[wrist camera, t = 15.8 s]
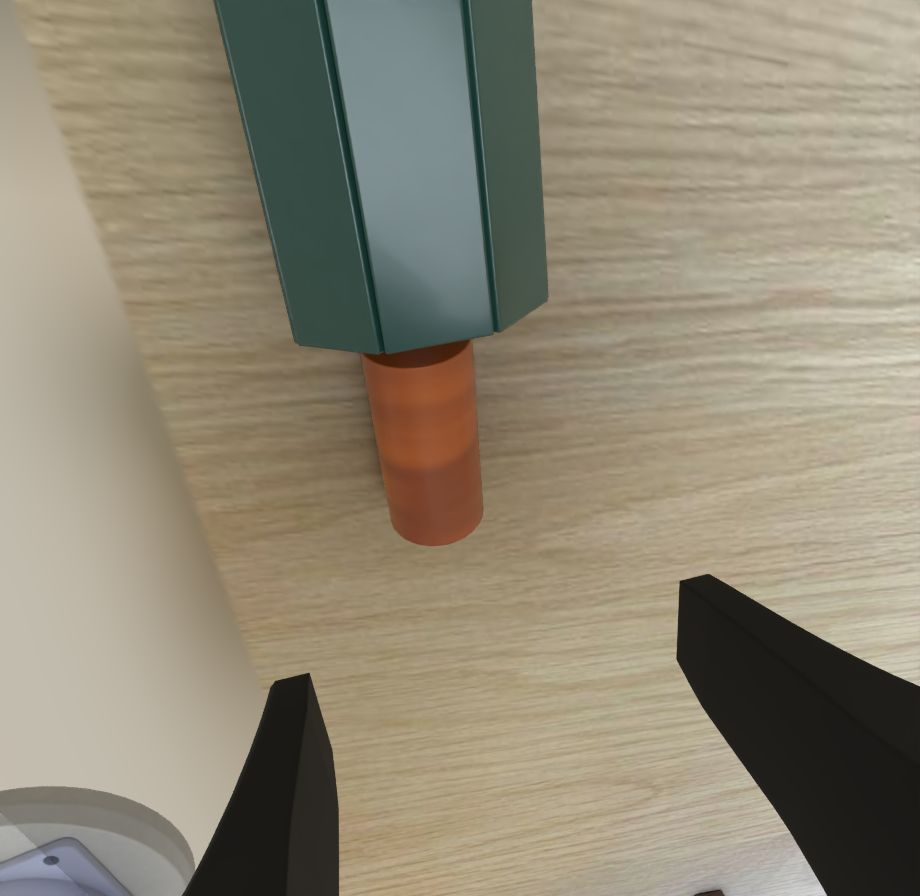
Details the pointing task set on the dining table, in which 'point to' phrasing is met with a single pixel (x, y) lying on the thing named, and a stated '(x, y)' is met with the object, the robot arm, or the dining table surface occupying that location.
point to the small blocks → (712, 894)
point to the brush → (428, 440)
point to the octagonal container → (394, 164)
